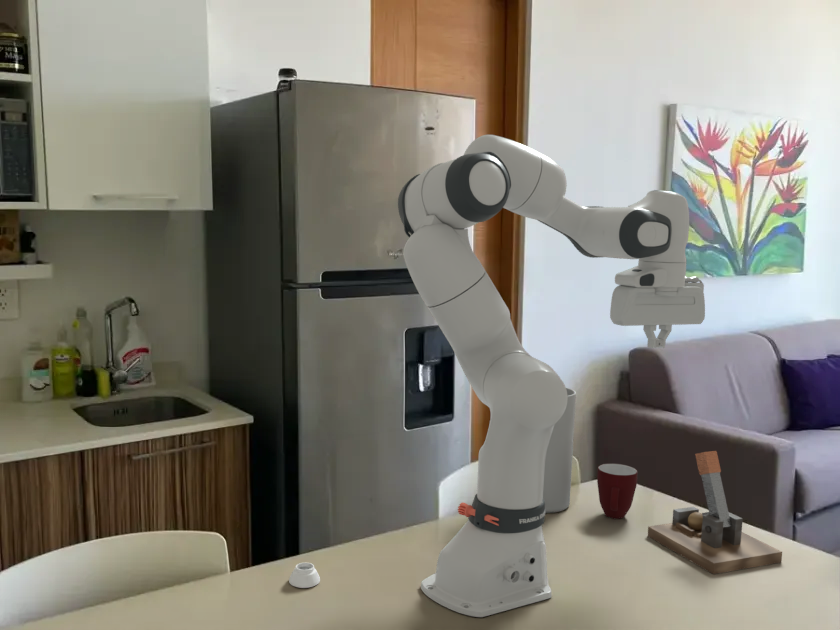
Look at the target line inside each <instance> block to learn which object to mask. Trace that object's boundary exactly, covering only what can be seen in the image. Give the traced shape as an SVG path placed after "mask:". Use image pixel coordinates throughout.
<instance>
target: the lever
mask: <svg viewBox="0 0 840 630" xmlns="http://www.w3.org/2000/svg"><path fill="white" fill-rule="evenodd" d="M694 455H695V459H696V464H697V465H696V466H697V470H698V473H699V475H700V476H701V480H702V481H701V482H702V485H703V491H704V495H705V501H706V503H707V508H708V511H707V512H701V514H702V515H712V516H714V517H716V518H718V519H720V520H722V521H724V522H723V527H730V526H731V522H730V517H729V513H728V512H729V508H728V504H727V499H726V495H725V491H724V486H723V481H722V476H721V472H722V469H721V466H720V460H719V456H718V452H717V450H712V451H711V450H710V451H703V452H697V453H695V454H694Z"/></svg>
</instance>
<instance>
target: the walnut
mask: <svg viewBox="0 0 840 630" xmlns="http://www.w3.org/2000/svg"><path fill="white" fill-rule="evenodd" d="M702 521H703V515H702V512H694V513H692V514H690V516H689V517H688V524H689V526H690V527H691V528H692V529H693V530H696V531H700V530H702Z"/></svg>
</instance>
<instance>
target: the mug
mask: <svg viewBox="0 0 840 630" xmlns="http://www.w3.org/2000/svg"><path fill="white" fill-rule="evenodd" d="M596 476H597V479H596V480H597V481H596V482H597V489H598V490H597V491H598V500H599V504H600V507H601V509H602V511H603V514H604V515H605V517H608V518H609V517H610V519H614V518H615V520H619V519H621V520H622V519H624V518H625V517H626V515H627V513H629V511H630V509H631V507H632V504H633V500H634V496H635V492H636V489H637V483H638V470H637V469H636V468H635V467H632V466H629V465H626V464H621V463H603V464H600V465H598V467H597V475H596Z"/></svg>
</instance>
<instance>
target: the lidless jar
mask: <svg viewBox="0 0 840 630" xmlns="http://www.w3.org/2000/svg"><path fill="white" fill-rule="evenodd" d="M288 581H289V584H290V585H291V586H293V587H296V588H301V589H307V588H312V587H314V586H316V585H318V584H319V583H320V582H321V578H320V575H319V572H318V571H317V569H316V568H315V565H314V564H313V563H311V562H305V561H304V562H299V563H296V565H295V567H294V568H293V570H292V572H291V574H290V576H289V577H288Z"/></svg>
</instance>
